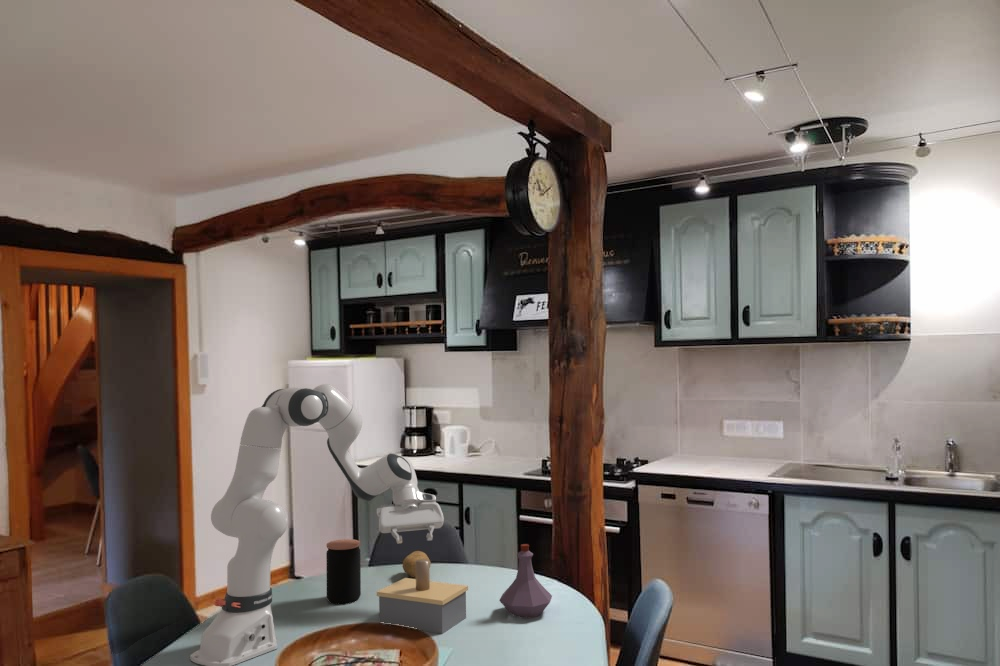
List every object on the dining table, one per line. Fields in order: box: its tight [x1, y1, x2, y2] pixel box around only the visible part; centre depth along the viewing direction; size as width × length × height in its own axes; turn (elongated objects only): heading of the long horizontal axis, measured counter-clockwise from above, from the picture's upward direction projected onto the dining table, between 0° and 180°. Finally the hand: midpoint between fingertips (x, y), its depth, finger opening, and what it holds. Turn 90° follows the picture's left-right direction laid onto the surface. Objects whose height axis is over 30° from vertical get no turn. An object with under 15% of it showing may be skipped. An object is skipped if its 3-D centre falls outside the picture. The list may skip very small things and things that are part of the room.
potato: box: [402, 550, 432, 579], centre depth 256 cm, size 10×14×8 cm
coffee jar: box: [325, 538, 362, 605], centre depth 232 cm, size 11×11×18 cm
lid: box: [376, 559, 469, 605], centre depth 211 cm, size 15×22×11 cm
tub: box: [378, 591, 467, 635], centre depth 211 cm, size 14×21×8 cm, turn 65°
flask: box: [499, 543, 553, 618], centre depth 217 cm, size 16×16×20 cm
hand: (415, 540), depth 221 cm, fingers open, 8 cm apart
